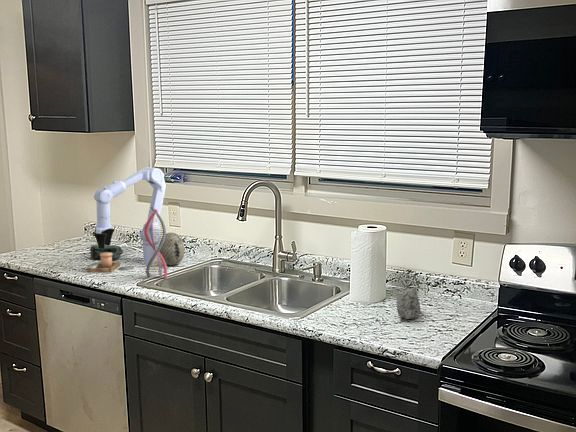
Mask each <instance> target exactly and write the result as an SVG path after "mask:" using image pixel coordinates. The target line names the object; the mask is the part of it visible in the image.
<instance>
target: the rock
mask: <svg viewBox="0 0 576 432" xmlns="http://www.w3.org/2000/svg"><path fill="white" fill-rule="evenodd" d="M420 304H421V303H420V298H419V295H418V291H417V288H416V287H411V288H408V289H405V290H402V291H401V292H399V293H396V309H397V313H398V316H399V318H400V319H401V318H404V319H405V320H409V319H410V320H411V319H413V320H414V319H417V318H418V317H420V314H421V305H420ZM419 313H420V314H419Z"/></svg>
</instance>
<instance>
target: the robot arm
mask: <svg viewBox="0 0 576 432" xmlns="http://www.w3.org/2000/svg"><path fill="white" fill-rule="evenodd" d="M141 181H145V182H147V183H149V184H150V186H151V187H152V188H153V191H152V194H151V195H152V196H151V200H150V206H149V210H148V215H147V220H146V222H145V223H144V224H143V227H142V229H141V231H140V233H139V238H140V240H142V254H143V255H142V256H143V259H142V261H141V262H140V264H148V263H149V261H150V260H151V258H152V256H153V255H154V253H155V250H154V249H153V248H152V247H151V245H150V244H149V243H148V241H147V239H146V237H145V234H144V233H145V232H144V231H145V230H144V229H145V226H146V224H147V221H148V219H149V218H150V217H151V215H152V213H153V210H152V209H151V207H154V209H157V210H158V214H159V215H160V216H161V215H162V210H163V204H164V198H165V194H166V189H167V184H166V181H165V173H164V172H163V171H162V169H160V168H158V167H157V168H156V167H150V166H145V167H144V168H142V169H139V170H138V171H137V172H135V173H133V174H132V175H130V176H128V177H126V178H125V179H124V180H122V181H121V180H113V181H112V183H110V184H108V185H105V186H103V188H102V189H101V188H99V189H97V190H96V191H95V192H94V195H93V198H94V200H95V201H96V225H95V226H94V228H95V232H93V237H94V238H95V240H96V242H97V245H98V247H99V249H104V247H105V245H111V243H112V242H111V241H112V237H113V235H114V232H115V229H114V228H113V225H112V224H113V223H111V202H112V200H113V199H114V198H116V197H117V196H119V195H121V194H124V192H125V191H126V189H127V188H128V187H131V186H132V185H134V184H136V183H138V182H141ZM155 216H156V215H155ZM156 217H157V216H156ZM156 217H154V218H156ZM156 219H159V218H156ZM156 219H154V220H155V221H153V222H154V223H158V224H154V223H150V224H153V225H158V226H153V227H157V228H152V229H155V230H153V232H161V231H158V230H162V229H160V228H161V227H160V226H161V225H160V222H156V221H160V220H156ZM149 226H151V225H149ZM148 229H150V227H148ZM148 231H150V230H148ZM147 234H150V233H147ZM152 234H161V233H152ZM148 236H149V237H150V236H151V235H148ZM153 236H162V235H153ZM157 238H162V237H154V238H153V239H157ZM150 239H152V238H150ZM159 240H161V239H157V240H153V241H158V242H154V244H155V246H156V245H159V243H160V241H159ZM151 242H152V240H151ZM156 243H158V244H156ZM156 247H159V246H156ZM156 249H158V248H156ZM157 256H158V255H157ZM157 256H156V257H157ZM157 258H158V257H157ZM157 258H155V259H156V260H158V259H157ZM159 259H160V258H159ZM156 260H153V261H155V262H152V263H154V264H157V265H158V263H156V262H158V261H156ZM159 261H162V260H159ZM160 263H162V262H160ZM162 264H163V263H162Z"/></svg>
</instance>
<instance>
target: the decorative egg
mask: <svg viewBox="0 0 576 432" xmlns="http://www.w3.org/2000/svg"><path fill="white" fill-rule="evenodd" d="M160 240H162V239H160ZM160 242H161V241H159V245H160ZM185 250H186V249H185V244H184V240H182V238H181V236H180V235H178V234H177V233H175V232H166V237H165V241H164V243H163V246H162V248H161V250H160V251H159V252H160V254H161V255H162V256H163V258H164V260H165V262H166V265H169V266H175V265H178V264H179V263H180V262H181V261H182V260H183V259H184V257H185V252H186V251H185Z"/></svg>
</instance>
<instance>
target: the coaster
mask: <svg viewBox="0 0 576 432" xmlns="http://www.w3.org/2000/svg"><path fill="white" fill-rule="evenodd" d="M134 269H135V266H129V265H128V266H127V265H125V266H119V267H118V270H119V271H123V272H125V271H131V270H134Z"/></svg>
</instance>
